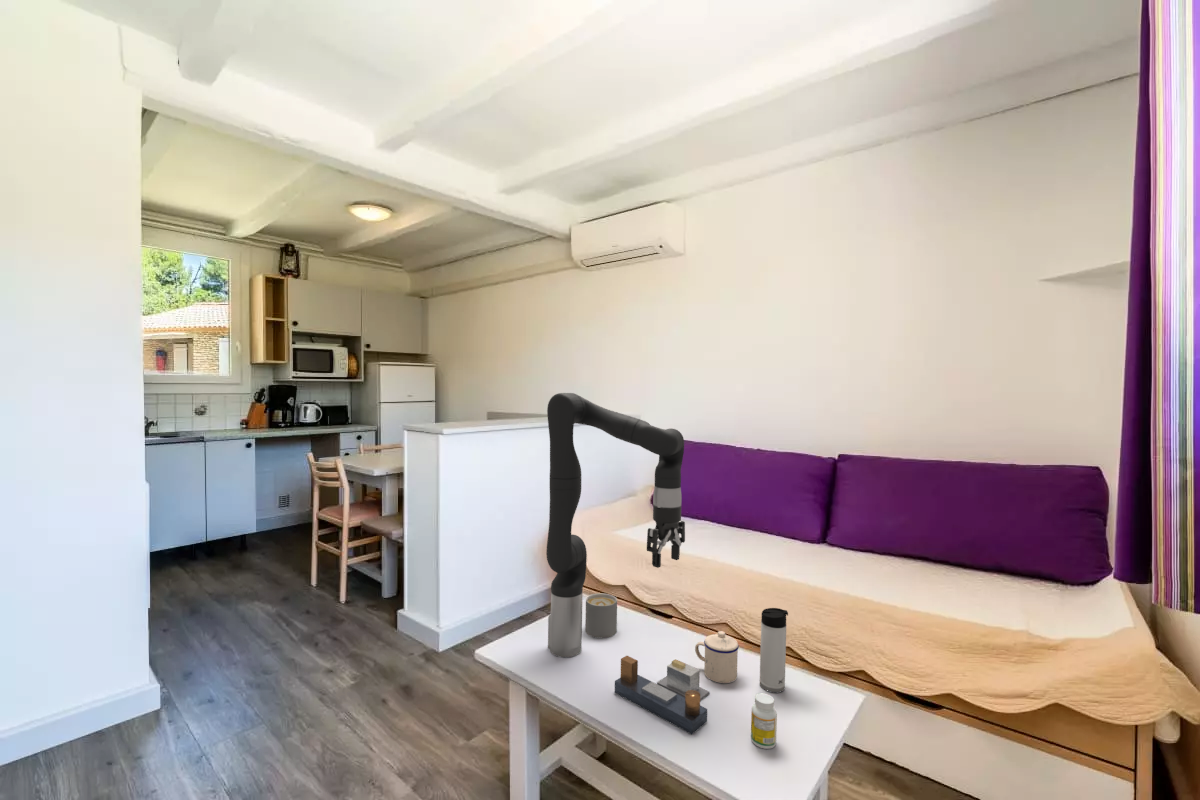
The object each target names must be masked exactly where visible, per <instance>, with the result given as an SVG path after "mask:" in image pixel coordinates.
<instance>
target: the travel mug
mask: <svg viewBox="0 0 1200 800" xmlns="http://www.w3.org/2000/svg"><path fill="white" fill-rule="evenodd" d="M787 616H789V612H788V610H786V609H782V608H777V607H768V608H764V609H763V610H762V612H761V622H760V653H759V654H760V656H759V660H760V661H759V686H760V687H761V688H762V689H763V688H764V691H767V690H768V691H767V692H769V691H771V692H770V693H774V692H778V693H781V692H780V691H782V690H783V691H785V689H786V683H785V682H786V659H787V658H786V657H787V656H786V654H787V653H786V652H787V650H786V649H787ZM784 688H785V689H784ZM783 691H782V692H783Z"/></svg>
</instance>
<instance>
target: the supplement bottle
mask: <svg viewBox="0 0 1200 800" xmlns="http://www.w3.org/2000/svg"><path fill="white" fill-rule="evenodd" d="M750 716H751V720H750V721H751V722H750V739H751V741H752V743H753V744H754V745H755V746H756V747H758V748H761V749H764V750H769V749H770V750H771V749H773V748H775V746H776V744H777V728H778V727H777V723H778V722H777V721H778V719H777V718H778V713H777V709H776V708H775V699H774V697H773V696H771V695H770V694H767V693H762V692H760V693H756V694H755V696H754V704H753V705H752V706H751V715H750Z"/></svg>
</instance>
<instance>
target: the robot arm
mask: <svg viewBox="0 0 1200 800" xmlns="http://www.w3.org/2000/svg"><path fill="white" fill-rule="evenodd" d="M546 412H547V414H546V415H547V424H548V436H549V514H548V515H549V516H548V517H549V521H548V533H547V540H546V550H545V551H546V552H545V553H546V560H547V561H546V562H547V563H548V566H549V567H550V569H551V570H552V571H553V572H555V573H556V574H555V576H554V578H553V579H552V581H551V584H550V614H549V615H548V616H547V617H548V619H547V623H548V624H547V648H548V649H549V651H550V653H551V654H552V655H554V656H556V657H560V658H571V657H572V658H573V657H576V656H578V655H579V654H580V653H581V652H582V649H583V648H582V645H583V644H582V642H583V639H582V638H583V588H584V584H585V583H586V582H585V581H586V576H587V560H588V559H587V556H588V555H587V552H588V551H587V547H586V544H585V542H584V540H583V539H582V538H581V537H580V536H579V535H577V534H572V526H573V522H574V521H573V520H574V517H575V514H576V511H577V508H578V505H579V502H580V499H581V495H582V468H581V467H582V466H581V463H580V460H579V457H578V455H577V453H576V450H575V443H574V425H575V424H579V425H584V426H585V425H586V426H589V427H594V428H596V429H599V430H601V431H603V432H605V433H606V434H608V435H610V436H611V437H614V438H616V439H617V440H618V439H619V440H621V441H623V442H625V443H629V444H631V445H636V446H638V447H641V448H643V449H644V450H646V451H649V452H651V453H652V454H654V455H658V463H657V465H656V466H655V470H654V486H653V487H654V489H653V496H652V497H653V498H652V499H653V500H652V502H653V503H652V506H653V507H652V519H653V521H654V522H655V528H651V527H650V528H648V529H647V537H646V551H647V552H650V553H651V564H652V567H654V568H658V569H659V568H661V567H662V566H661V565H662V553H661V552H662V550H663V548H664V547H665V546H666V544H667V543H669V542H670V544H671V545H670V546H671V547H670V549H671V552H670V555H671V556H670V557H671V558H670V559H672V560H675V561H678V560H680V551H681V549H680V548H681V546H682V544H683V543H685V541H686V523H685V521H684V520H682V473H681V472H682V465H683V460H684V452H685V439H684V436H683V434H682V433H681V432H680V431H679V430H678V429H676V428H666V429H664V428H660V427H657V426H654V425H651V424H650V423H649V422H647V421H646V420H643V419H640V418H636V417H633V416H631V415H628V414H624V413H622V412H621V413H620V412H617V411H614V410H611V409H607V408H605V407H602V406H600V405H598V404H596V403H593V402H592V401H590V400H588V399H586V398H584V397H582V396H580V395H578V394H577V393H574V392H560V393H556V394H554V395H552V396H551V397H550V399H549V401H548V404H547V410H546Z"/></svg>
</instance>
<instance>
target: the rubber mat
mask: <svg viewBox="0 0 1200 800" xmlns="http://www.w3.org/2000/svg"><path fill="white" fill-rule="evenodd" d="M656 684H658V685H660V686H662V687H664V688H666V689H668V690H670V691H672V692H674V693H676V694H678V695H680V696H682V697H684V698H685V694H684V693H682V692H680V691H678V690H676V689H674V688H672V687H670V686H668V685H667V675H666V676H664V677H663V678H662V679H660V680H658V681H657V682H656ZM697 691H698V692H699V693H700V702H701V701H702V700H704V699H705V698H706V697H707V696H710V691H709V690H708V689H704V688H703V687H700V686H699V690H697Z"/></svg>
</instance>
